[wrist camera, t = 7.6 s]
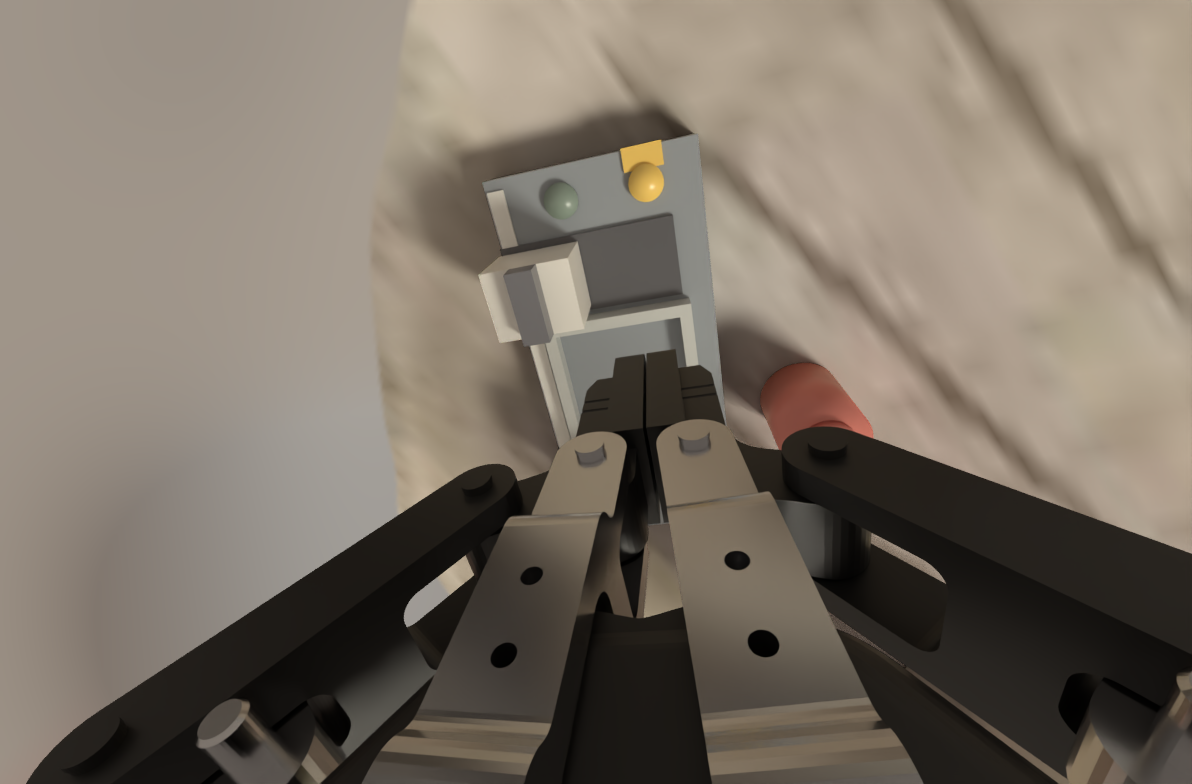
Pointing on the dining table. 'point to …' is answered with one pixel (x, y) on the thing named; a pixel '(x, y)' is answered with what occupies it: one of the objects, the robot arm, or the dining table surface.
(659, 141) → the panel
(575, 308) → the toggle
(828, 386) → the cap
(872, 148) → the dining table surface
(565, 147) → the dining table surface
